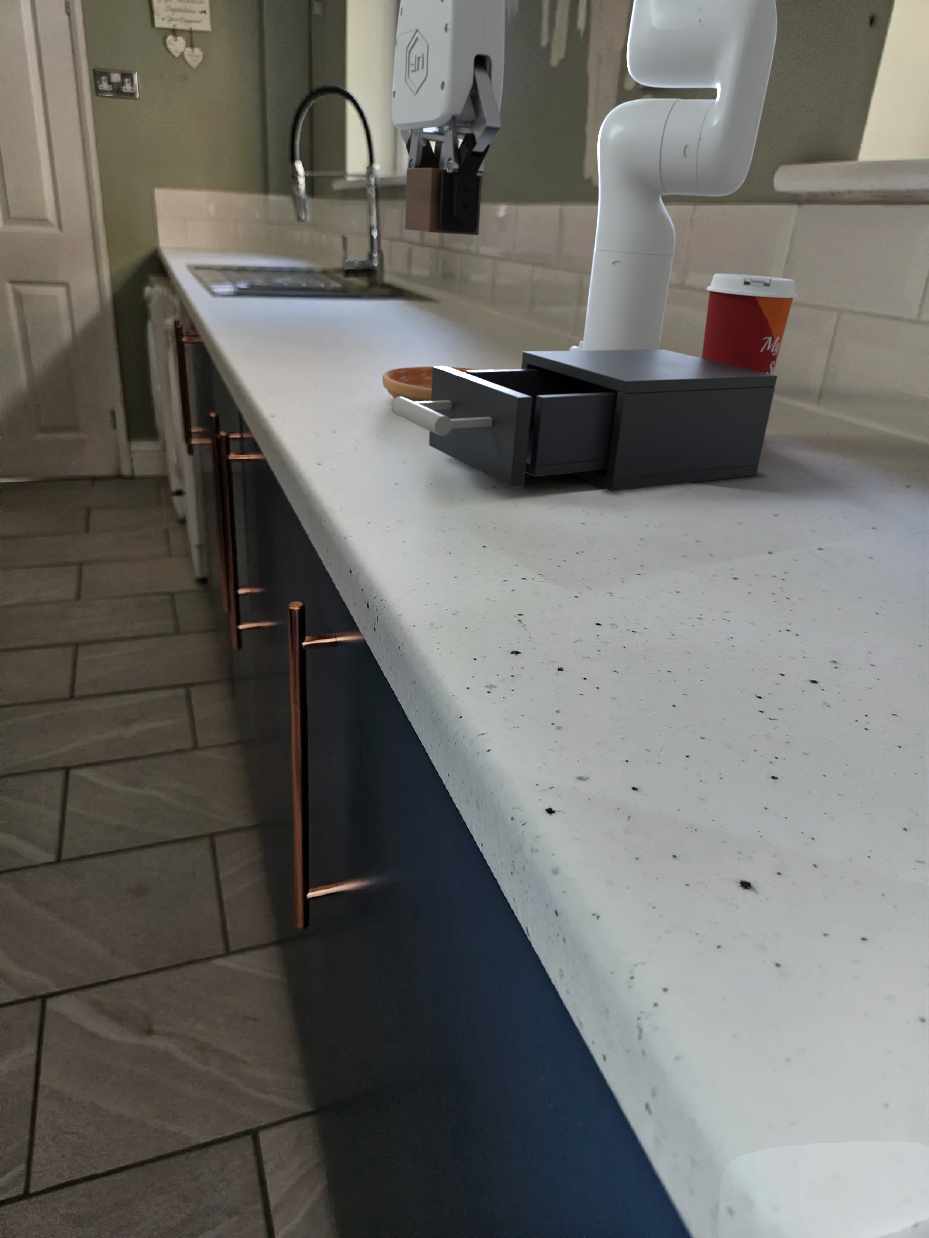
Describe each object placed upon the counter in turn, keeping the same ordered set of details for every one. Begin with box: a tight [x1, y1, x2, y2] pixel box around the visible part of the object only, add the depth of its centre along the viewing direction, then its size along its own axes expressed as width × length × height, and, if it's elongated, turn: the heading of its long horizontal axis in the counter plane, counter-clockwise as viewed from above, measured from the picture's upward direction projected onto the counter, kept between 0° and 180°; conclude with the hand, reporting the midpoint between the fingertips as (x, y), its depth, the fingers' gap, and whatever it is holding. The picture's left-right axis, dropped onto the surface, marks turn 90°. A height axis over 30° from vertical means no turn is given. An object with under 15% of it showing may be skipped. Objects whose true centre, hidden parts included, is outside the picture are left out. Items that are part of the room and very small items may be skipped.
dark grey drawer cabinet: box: [520, 348, 778, 492], centre depth 74 cm, size 16×14×8 cm
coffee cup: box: [701, 273, 798, 375], centre depth 84 cm, size 8×8×15 cm
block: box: [404, 167, 483, 236], centre depth 70 cm, size 4×4×4 cm
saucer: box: [381, 365, 482, 402], centre depth 92 cm, size 16×16×3 cm
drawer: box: [390, 365, 619, 488], centre depth 68 cm, size 20×13×6 cm, turn 120°
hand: (441, 227), depth 71 cm, fingers closed on block, 4 cm apart
